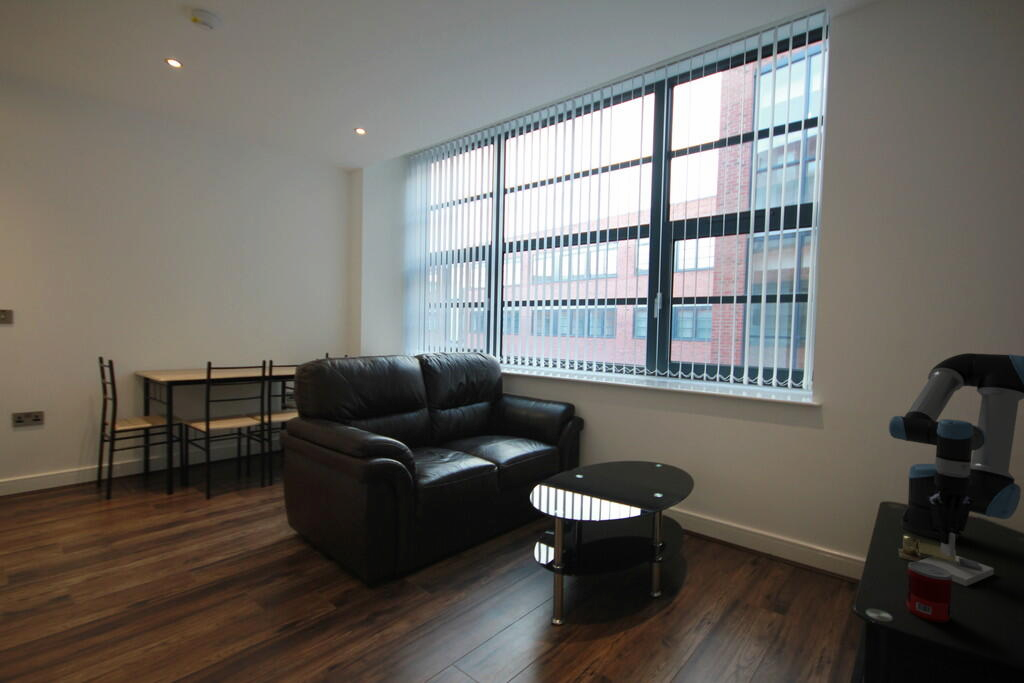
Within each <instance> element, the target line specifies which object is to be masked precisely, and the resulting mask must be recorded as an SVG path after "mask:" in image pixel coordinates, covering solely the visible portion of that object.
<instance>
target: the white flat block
mask: <svg viewBox="0 0 1024 683" xmlns="http://www.w3.org/2000/svg"><path fill="white" fill-rule="evenodd" d="M918 562H923V563H928V564H932V565H935V566H938V567H941V568H943V569H945V570H947V571H949V572H950V573H951V574H952V582H954V583H957V584H959V585H961V586H965V587H968V586H971V585H973V584H974V583H977V582H979V581H981V580H984V579H986V578H988V577H989V578H990V577H991V576H993V575H994V571H995V570H994V568H995V567H994V568H993V567H991V566H988V565H985V564H983V563H979V562H978V561H976V560H971V559H967V558H965V557H962V556H959V555H956V561H955V560H950V559H946V558H942V557H937V556H933V555H931V556H929V557H926V558H924V559H922V560H920V561H918Z"/></svg>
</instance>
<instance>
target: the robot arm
mask: <svg viewBox="0 0 1024 683" xmlns="http://www.w3.org/2000/svg"><path fill="white" fill-rule="evenodd" d="M927 380H928V381H927V383H926V385H924V388H923V389H922V390H921V392H919V395H918V396H917V398H916V399H915V401H914V402H913V403H912V405H911V407H910V408H909V410H908V411H907V412H906V413H905V415H904V416H902V415H900V416H898V415H895V416H893V417H891V419H889V420H890V421H889V425H888V432H889V435H890V436H891V437H892V438H893V439H896V440H897V439H898V440H902V441H905V442H913V443H918V444H925V445H932V446H936V450H935V460H934V461H935V463H918V464H917V463H916V464H912V465H911V466H910V468H909V476H908V494H907V495H908V496H907V497H908V499H907V501H908V502H907V506H906V508H905V510H904V512H903V514H902V516H901V518H900V526H901V527H902V528H903V529H904V530H906V531H908V532H911V533H912V534H915V535H919V536H923V537H925V538H931V539H935V540H939V541H940V544H941V553H943V554H945V555H947V556H949V557H954V550H955V549H956V544H957V540H958V539H959V536H961V535H962V532H963V533H964V532H965V529H966V525H967V522H968V519H969V517H970V516H969V515H970V513H975V514H979V515H983V516H986V517H991V518H995V519H1001V520H1008V519H1011V517H1012V516H1014V514H1015V513H1016V510H1017V508H1018V506H1019V502H1020V499H1021V493H1022V488H1021V486H1020V484H1019V485H1018V484H1017V483H1015V478H1014V476H1012V474H1011V473H1010V471H1009V470H1010V464H1011V463H1010V462H1011V456H1012V449H1013V443H1014V436H1015V429H1016V423H1017V422H1016V421H1017V415H1018V408H1019V402H1020V401H1021V400H1023V399H1024V355H1018V354H1017V355H1015V354H998V353H997V354H996V353H995V354H994V353H990V354H989V353H972V352H971V353H969V352H968V353H961V354H956V355H953V356H951V357H948V358H946V359H944V360H942V361H941V362H939V363H937V364H936V365H935V366H933V368H932V369H931V370H930V372H929V373H928V376H927ZM963 387H973V388H976V393H978V394H979V395H980V396H981V402H980V408H979V414H978V420H977V425H973V423H972V422H968V421H964V420H960V419H959V420H958V419H949V418H948V419H946V418H944V419H943V418H942V419H939V417H940V415H941V414H942V413H943V411H944V409H945V408H946V406H947V405H948V403H949V401H950V399H951V398H952V397H953V395H954V393H955V392H957V391H958V390H960V389H962V388H963ZM938 419H939V421H938Z"/></svg>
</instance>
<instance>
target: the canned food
mask: <svg viewBox="0 0 1024 683" xmlns="http://www.w3.org/2000/svg"><path fill="white" fill-rule="evenodd" d="M952 583H953V581H952V574H951V573H950V572H949V571H947V570H945V569H943V568H941V567H938V566H935V565H932V564H928V563H923V562H917V561H911V562H908V565H907V582H906V584H907V585H906V607H907V610H908V611H909V612H910V613H912V614H913V615H914V616H917V617H918V618H920V619H923V620H926V621H929V622H934V623H939V624H941V623H942V624H943V623H947V622H949V620H950V618H951V604H952V603H951V602H952V587H953V585H952Z"/></svg>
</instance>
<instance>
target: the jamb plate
mask: <svg viewBox="0 0 1024 683" xmlns="http://www.w3.org/2000/svg"><path fill="white" fill-rule="evenodd" d="M898 555H899V558H901V559H904V560H909V561H912V562H918V561H920V560H923V559H922V556H921V554H920V552H918V556H912V555H908V554H905V553H903V548H898Z"/></svg>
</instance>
